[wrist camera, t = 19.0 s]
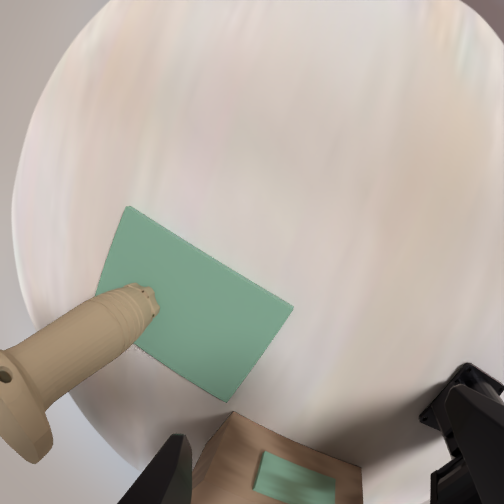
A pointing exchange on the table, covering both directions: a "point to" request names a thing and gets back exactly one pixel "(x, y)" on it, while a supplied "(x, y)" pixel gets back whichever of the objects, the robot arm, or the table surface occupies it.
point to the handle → (66, 361)
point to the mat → (193, 305)
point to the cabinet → (269, 470)
